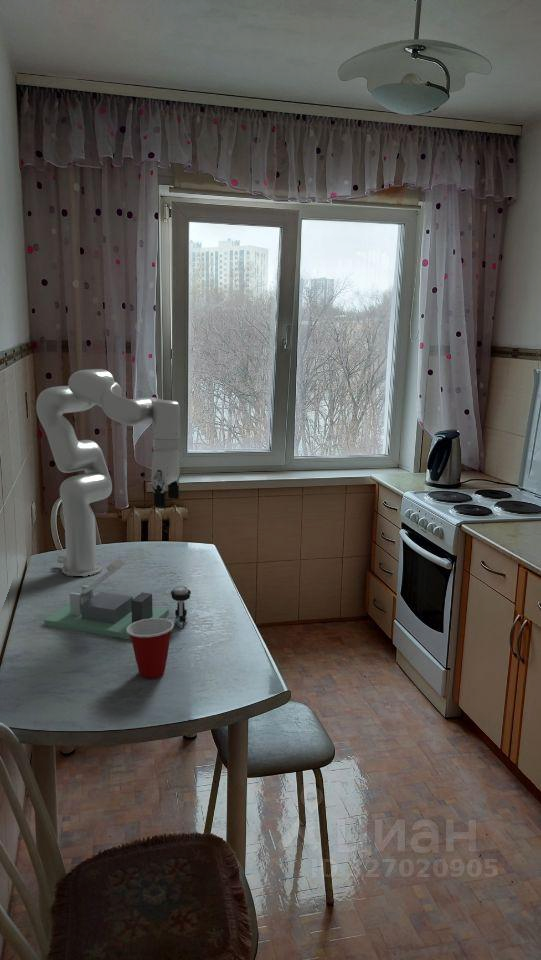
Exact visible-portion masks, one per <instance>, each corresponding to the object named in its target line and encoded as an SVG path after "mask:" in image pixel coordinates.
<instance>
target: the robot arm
mask: <svg viewBox="0 0 541 960" xmlns="http://www.w3.org/2000/svg"><path fill="white" fill-rule="evenodd" d="M67 384H68V385H59V386H52V387H48V388H46V389H44V390H42V391H41V392H40V393H39V395H38V396H37V398H36V407H35V408H36V415H37V417H38V419H39V422H40V424H41V425H42V428H43V429H44V431H45V434H46V437H47V442H48V443H49V447H50V450H51V453H52V456H53V459H54V462H55V465H56V468H57V469H58V471H60V472H62V473H64V474H66V473H67V474H68V473H69V474H70V473H76V472H79V471H84V473H83V474H77V475H74V476H70V477H68V478H66V479H64V481H62V482H61V484H60V486H59V496H60V497H59V498H60V500H61V503H62V509H63V516H64V518H63V519H64V521H63V522H64V537H65V538H64V539H65V540H64V541H65V554H59V555H58V556H57V560H56V563H59V564H63V566H62V567H61V572H63V573H64V574H63V573H62V574H63V575H65V574H66V575H65V576H67V577H68V576H69V577H73V576H83V577H89V576H88V575H90V576H93V574H94V575H96V573H97V574H98V572H99V573H100V572H101V571H102V570H103V565H102V564H101V563H99V562H98V560H97V559H98V556H97V536H96V535H97V533H96V532H97V530H96V517H95V513H94V511H93V509H92V508H91V507H90V504H92V503H94V502H98V501H99V502H100V501H102V500H105V499H107V498H108V497H110V495H111V494H112V491H113V484H112V482H113V481H112V478H111V474H110V472H109V469H108V466H107V461H106V459H105V456H104V453H103V450H102V448H101V447H100V445H99V444H98V443H97V442H96V441H94V440H91V439H82V440H79V439H78V437H77V435H76V431H75V429H74V427H73V425H72V424H71V422H70V421H69V419H67V418H66V417H65V416H64V415H63V414H68V413H70V414H71V413H77V412H86V411H87V410H90V409H91V408H93V407H94V406H96V405H97V406H98V407H101V409H102V410H103V413H105V415H106V416H107V417H108V418H110V419H111V420H113V421H115V422H117V423H119V424H121V425H124V426H130V427H135V426H141V425H148V424H149V425H150V424H152V442H153V443H152V449H153V453H152V459H151V460H152V461H151V473H150V475H151V480H150V481H151V484H152V489H153V491H152V492H153V501H154V502H153V506H154V507H163V508H164V507H166V492H165V489H166V486H167V497H168V498H169V499H176V500H178V499H179V498H180V478H181V476H180V475H181V474H180V473H181V467H180V453H179V452H180V451H179V450H180V449H181V445H180V444H181V441H180V440H181V439H180V438H181V437H180V436H181V424H180V423H181V422H180V421H181V420H180V419H181V414H180V412H181V409H180V408H181V407H180V403H179V402H177V400H172V399H171V400H169V399H162V398H159V397H153V396H151V397H139V398H131V399H130V398H127V397H123V396H122V395H123V393H122V392H123V390H122V388H121V385H120V384H119V383H118V382H116V381H115V379H114V376H113V374H112V373H110V372H109V371H108V370H107V369H104V368H91V369H81V370H77V371H75V372H74V373H72V374H71V375H70V377H69V378H68V383H67ZM101 569H102V570H101Z"/></svg>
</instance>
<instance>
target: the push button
mask: <svg viewBox="0 0 541 960" xmlns="http://www.w3.org/2000/svg"><path fill="white" fill-rule="evenodd" d="M191 593H192V592H191V590H190V589H188V587H187V586H184V585H180V586H176V587H174V588H173V589H172V590H171V591H170V595H171V599H172V600H173V601H176V602H177V603H176V604H177V607H176V609H175V612H174V613H175V614H174V615H175V624H177V627H178V628H180V629H181V628H183V627H185V624H187V623H188V621H187V618H188V617H187V612H188V611H187V609H186V608H185V601H187V600H189V599H190V598H191Z"/></svg>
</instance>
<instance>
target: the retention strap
mask: <svg viewBox="0 0 541 960" xmlns="http://www.w3.org/2000/svg"><path fill="white" fill-rule="evenodd" d="M125 565H126V563H125V562H124V561H123V560H122V559H121V558H120V557H119V558H118V559H116V560H115V561H112V562H111V563H110V564H109V565H107V566H106V567H105V569H106V570H107V572H105V573H104V574H103V575H102V576H100V577H99V578H97V579H96V580H95V581H93V583H91V584H90V585H88V586H89V587H87V588H86V589H85V590H84V591H82V590H81V592H80V593H81V597H83V596H85V595H87V594H88V593H89V592H90V591H91V590H92V589H93V590H94V589H95V588H96V587H98V586H99V585H100V584H102V583H103V582H104V581H105V580H107V579H108V578H109V577H111V575H113V574H114V573H116V572H117V571H118V570H119V569H120V568H122V567H123V566H125Z"/></svg>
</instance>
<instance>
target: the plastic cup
mask: <svg viewBox="0 0 541 960" xmlns="http://www.w3.org/2000/svg"><path fill="white" fill-rule="evenodd" d="M174 627H175V624H174V622H173V621H172V620H170V619H168V618H164V619H162V618H150V619H143V620H140V621H136V622H134V623H132V624H130V625H129V626H128V627H127V628H126V630H127V633H128V634H129V636H130V638H131V640H130V641H131V644H132V649H133V653H134V656H135V657H134V658H135V662H136V666H137V669H138V670H137V671H138V674H139V676H140V677H141V678H142V679H146V680H156V679H158V678H160V677H162V676H163V675H164V674H165V671H166V666H167V660H168V655H169V650H170V649H169V647H170V642H171V638H172V637H171V636H172V631H173V629H174Z"/></svg>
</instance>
